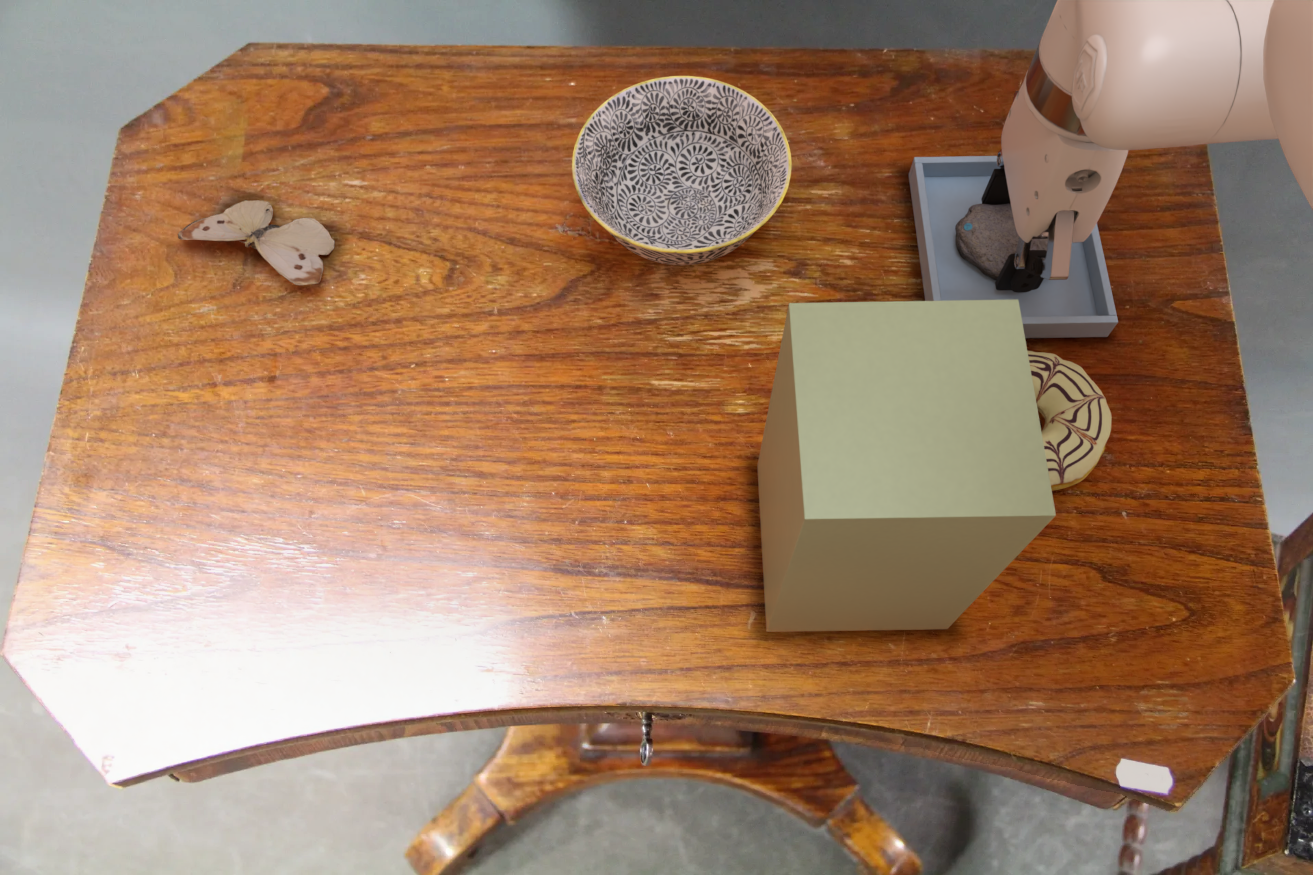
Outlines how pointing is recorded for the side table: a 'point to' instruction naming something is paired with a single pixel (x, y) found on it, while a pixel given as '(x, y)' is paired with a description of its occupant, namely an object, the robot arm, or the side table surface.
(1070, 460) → the decorated donut
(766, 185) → the bowl
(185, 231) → the butterfly
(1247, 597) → the side table surface
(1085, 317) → the tray
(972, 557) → the stand
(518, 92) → the side table surface
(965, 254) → the stone
